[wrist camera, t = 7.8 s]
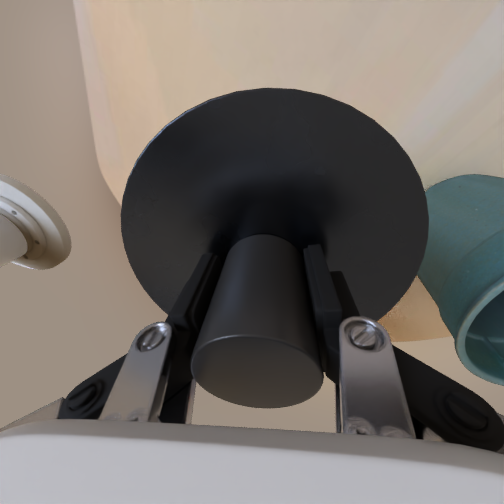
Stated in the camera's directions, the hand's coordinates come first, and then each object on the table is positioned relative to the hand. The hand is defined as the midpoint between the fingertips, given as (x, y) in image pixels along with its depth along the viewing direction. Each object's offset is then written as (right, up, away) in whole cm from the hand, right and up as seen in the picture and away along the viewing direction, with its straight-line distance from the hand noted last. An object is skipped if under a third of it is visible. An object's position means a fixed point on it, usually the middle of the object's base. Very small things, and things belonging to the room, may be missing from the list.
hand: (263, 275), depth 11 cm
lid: (0, +1, +1) cm, 1 cm away
